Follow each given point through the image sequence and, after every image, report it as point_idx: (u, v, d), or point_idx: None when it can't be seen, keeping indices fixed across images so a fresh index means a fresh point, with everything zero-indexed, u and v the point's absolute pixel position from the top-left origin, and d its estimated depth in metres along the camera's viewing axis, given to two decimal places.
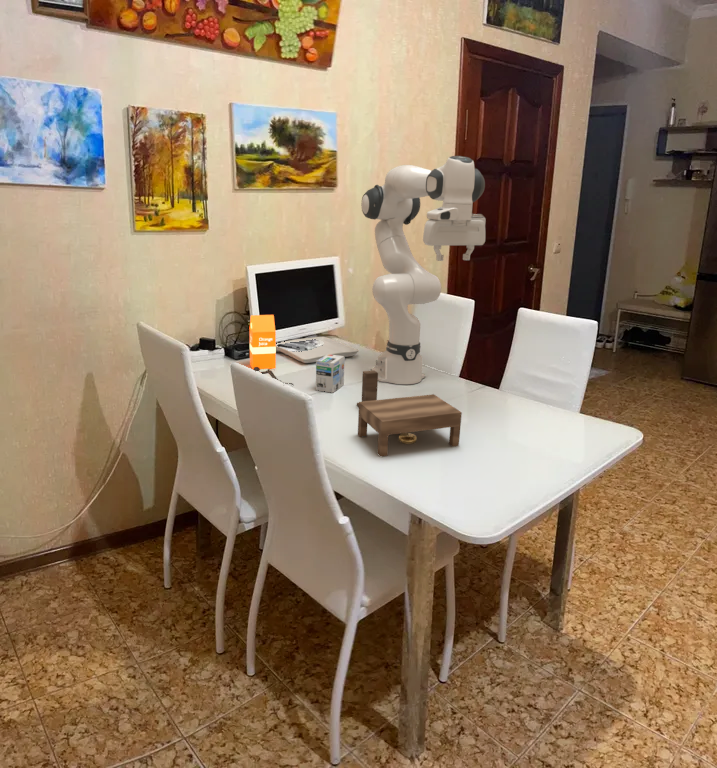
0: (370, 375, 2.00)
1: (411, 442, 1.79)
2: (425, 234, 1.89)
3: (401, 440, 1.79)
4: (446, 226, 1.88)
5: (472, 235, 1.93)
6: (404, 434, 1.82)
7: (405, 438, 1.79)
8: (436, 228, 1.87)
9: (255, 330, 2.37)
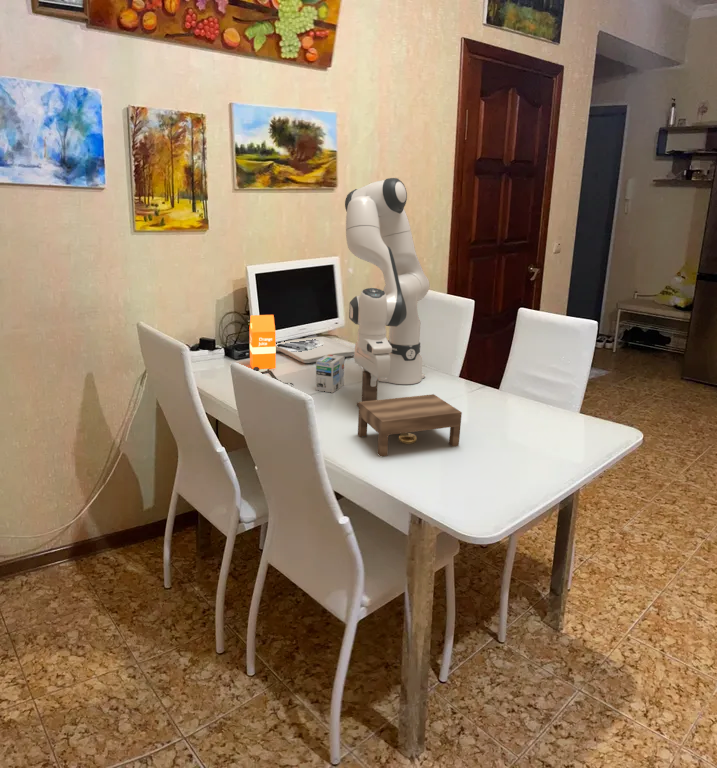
0: (370, 375, 2.00)
1: (411, 442, 1.79)
2: (382, 368, 1.92)
3: (401, 440, 1.79)
4: None
5: None
6: (404, 434, 1.82)
7: (405, 438, 1.79)
8: None
9: (255, 330, 2.37)
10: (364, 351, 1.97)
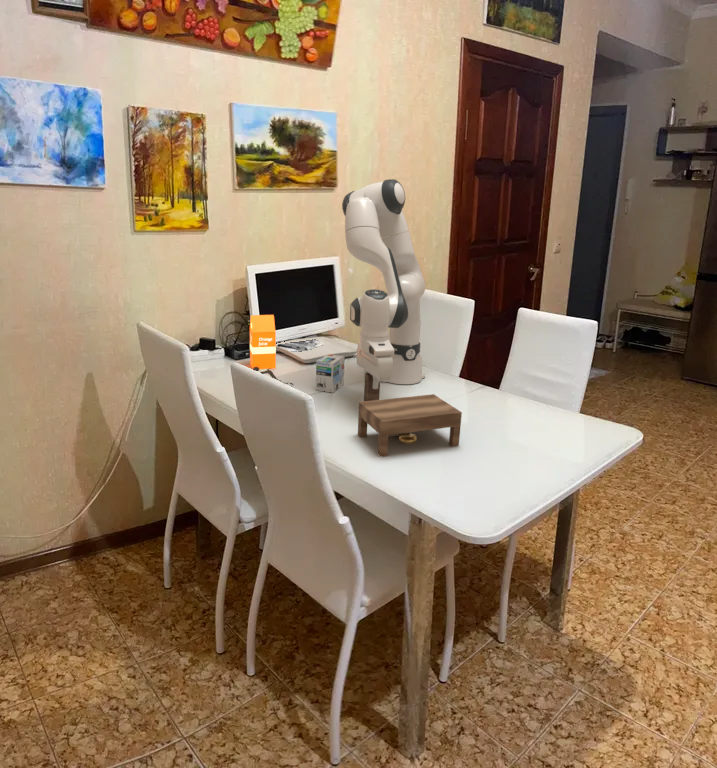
0: (372, 377, 1.98)
1: (411, 442, 1.79)
2: (384, 371, 1.89)
3: (401, 440, 1.79)
4: None
5: None
6: (404, 434, 1.82)
7: (405, 438, 1.79)
8: None
9: (255, 330, 2.37)
10: (366, 353, 1.95)
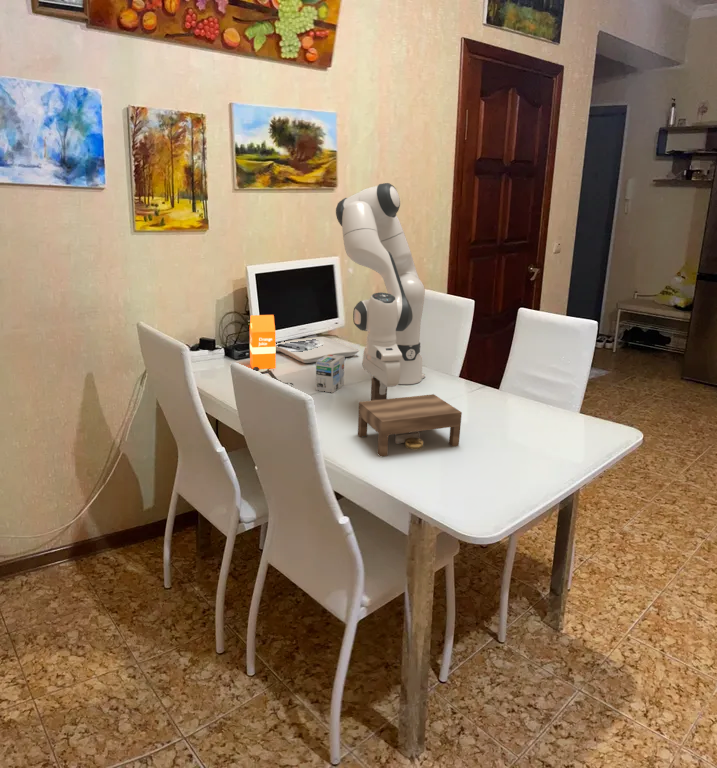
0: (379, 382, 1.93)
1: (418, 447, 1.75)
2: (392, 376, 1.84)
3: (407, 445, 1.75)
4: None
5: None
6: (410, 439, 1.78)
7: (412, 443, 1.75)
8: None
9: (255, 330, 2.37)
10: (373, 358, 1.90)
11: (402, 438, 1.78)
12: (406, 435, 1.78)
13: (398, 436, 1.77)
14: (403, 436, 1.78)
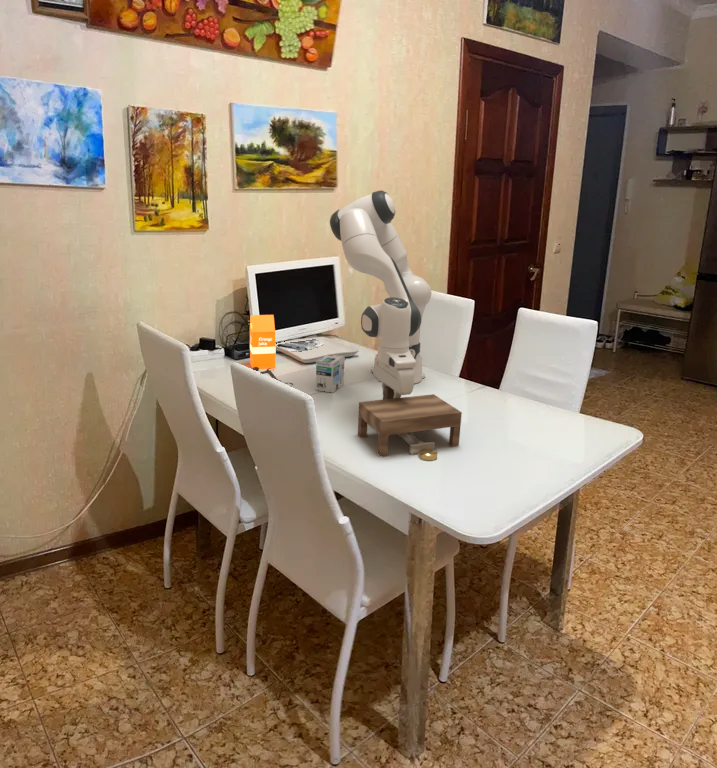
0: (392, 390, 1.86)
1: (432, 459, 1.68)
2: (405, 384, 1.78)
3: (421, 457, 1.69)
4: None
5: None
6: (424, 450, 1.71)
7: (425, 454, 1.69)
8: None
9: (255, 330, 2.37)
10: (385, 365, 1.83)
11: (417, 449, 1.71)
12: (421, 446, 1.72)
13: (413, 447, 1.71)
14: (418, 447, 1.71)
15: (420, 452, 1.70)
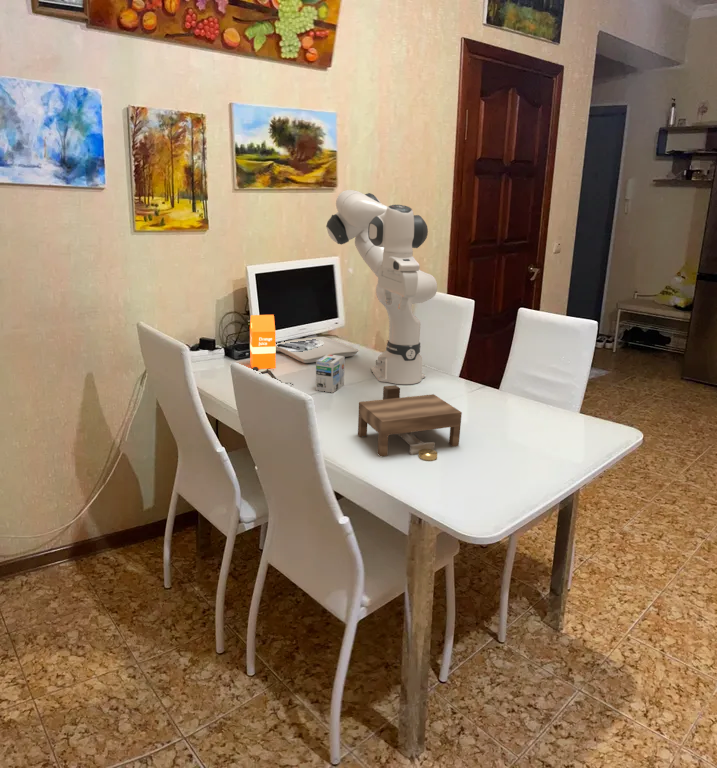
0: (392, 390, 1.86)
1: (432, 459, 1.68)
2: (409, 286, 1.83)
3: (421, 457, 1.69)
4: None
5: None
6: (424, 450, 1.71)
7: (425, 454, 1.69)
8: None
9: (255, 330, 2.37)
10: (390, 271, 1.89)
11: (417, 449, 1.71)
12: (421, 446, 1.72)
13: (413, 447, 1.71)
14: (418, 447, 1.71)
15: (420, 452, 1.70)
